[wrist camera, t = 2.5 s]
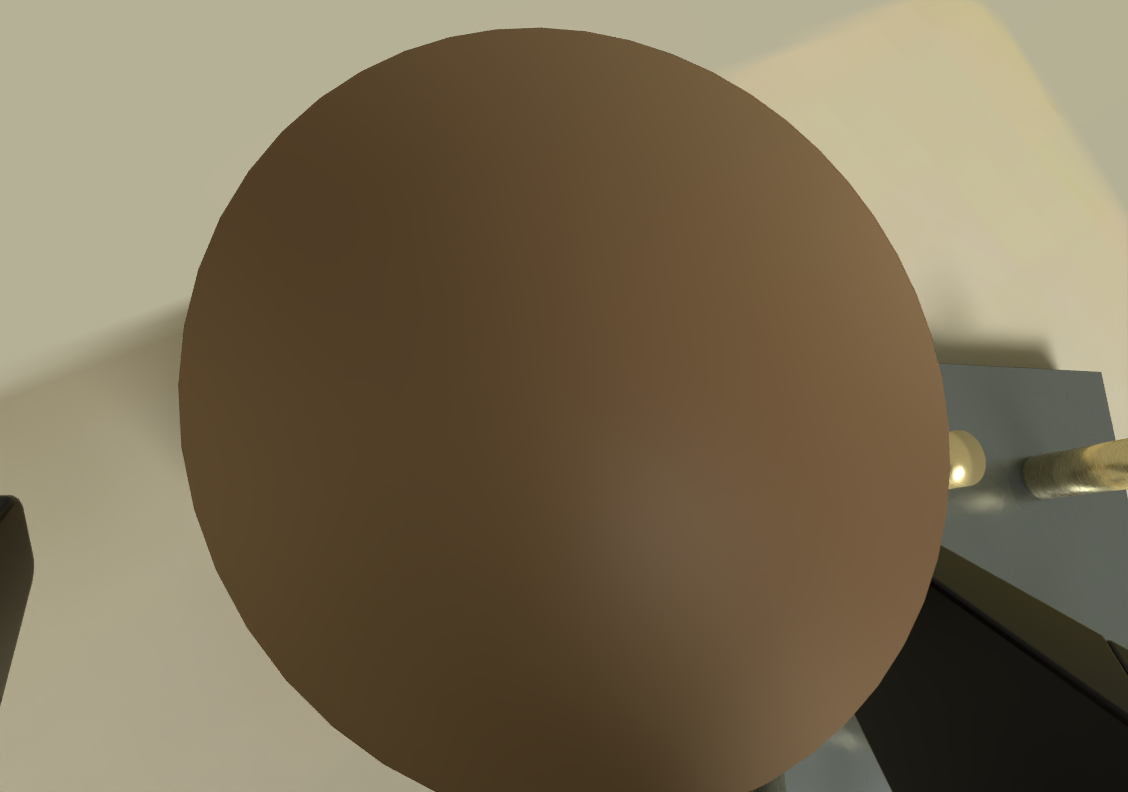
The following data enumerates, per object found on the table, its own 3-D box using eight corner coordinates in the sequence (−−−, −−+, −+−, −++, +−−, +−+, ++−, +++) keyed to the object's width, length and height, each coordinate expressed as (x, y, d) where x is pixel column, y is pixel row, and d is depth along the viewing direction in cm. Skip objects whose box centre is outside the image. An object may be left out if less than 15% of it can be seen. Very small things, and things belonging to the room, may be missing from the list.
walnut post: (470, 679, 17) (893, 919, 5) (237, 608, 16) (-18, 676, 4) (538, 462, 18) (986, 212, 6) (332, 384, 17) (381, -97, 5)
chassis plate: (1148, 806, 21) (1348, 859, 17) (766, 877, 18) (904, 964, 13) (1064, 382, 24) (1219, 339, 20) (718, 366, 20) (821, 310, 16)
